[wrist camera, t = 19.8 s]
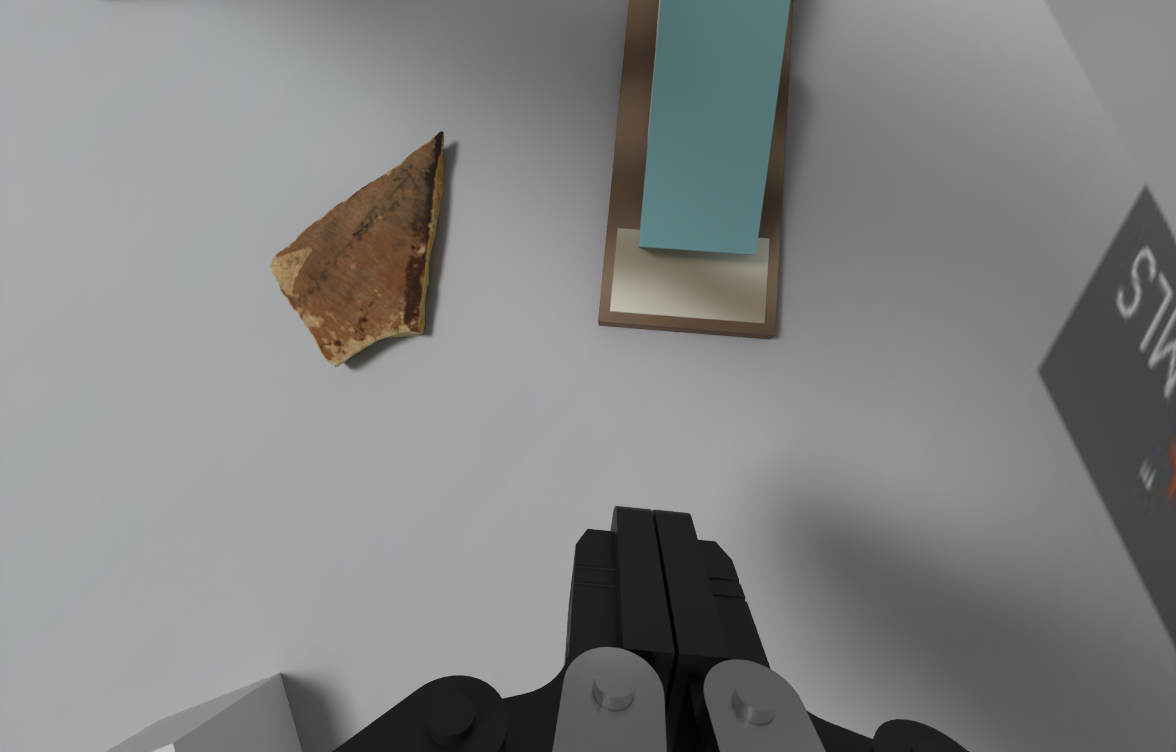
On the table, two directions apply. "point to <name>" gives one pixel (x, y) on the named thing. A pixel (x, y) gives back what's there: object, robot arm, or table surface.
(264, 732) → the white cube
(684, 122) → the teal domino
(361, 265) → the shard
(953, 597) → the table surface
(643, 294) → the board
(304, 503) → the table surface
